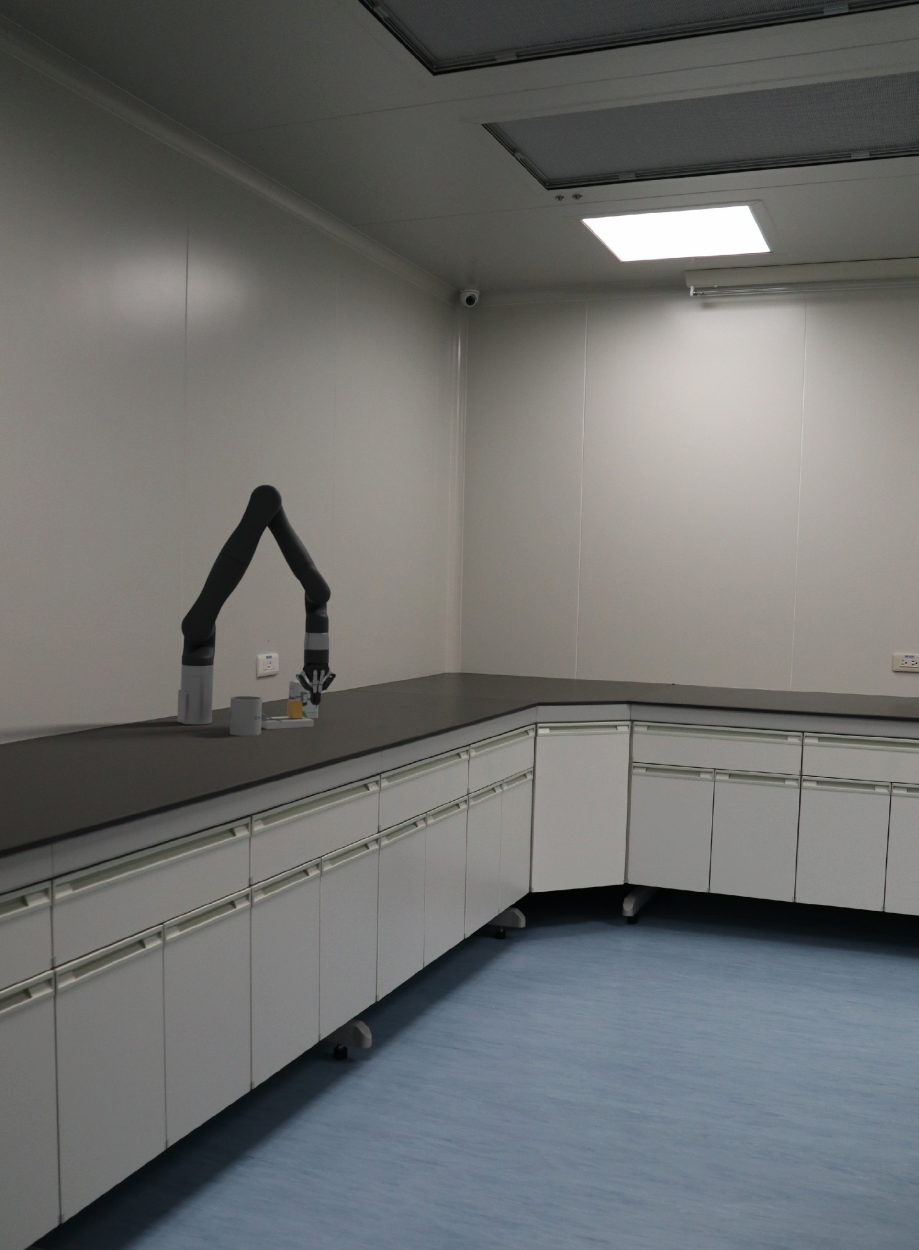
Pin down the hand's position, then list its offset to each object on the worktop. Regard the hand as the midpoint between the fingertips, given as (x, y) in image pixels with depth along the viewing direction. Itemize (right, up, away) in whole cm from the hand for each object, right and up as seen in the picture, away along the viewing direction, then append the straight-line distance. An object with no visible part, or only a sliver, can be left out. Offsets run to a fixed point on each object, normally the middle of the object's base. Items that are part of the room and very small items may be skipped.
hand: (315, 704), depth 316 cm
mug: (-16, -7, -21) cm, 27 cm away
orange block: (-6, -4, -3) cm, 8 cm away
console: (-9, -6, -5) cm, 12 cm away
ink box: (-6, -6, +13) cm, 15 cm away
